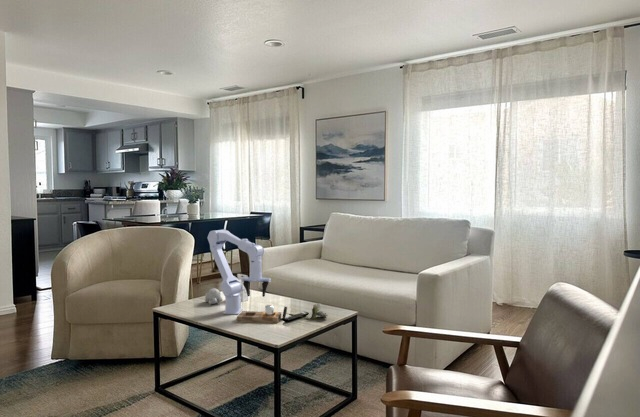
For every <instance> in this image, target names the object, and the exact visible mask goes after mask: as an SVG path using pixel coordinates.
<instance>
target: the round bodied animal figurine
mask: <svg viewBox="0 0 640 417" xmlns="http://www.w3.org/2000/svg"><path fill="white" fill-rule="evenodd" d="M204 294H205V296H204V297H205V299H204V302H206V303H209V305H210V306H212V305H214V304H218V303H221V302H222V301H223V298H222V296H221V290H219V289H218V288H215V287H214V288H210V289H209V290H208V291H207V293H206V292H205V293H204Z"/></svg>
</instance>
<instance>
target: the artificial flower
mask: <svg viewBox="0 0 640 417" xmlns="http://www.w3.org/2000/svg"><path fill="white" fill-rule="evenodd" d="M321 304H322V303H315V304H313V306H311V317H310V318H308V317H304V316H301V315H298V314H294V313H293V314H292V313H288V311H287V310H288V306H284V307H283V312H282V315H281V318H282V320H283V319H285V320H286V317H287V315H288V316H291V317H294V316H295V317H300V318H302V319H305V320H310V321H311V320H314V319H316V317H322V318H327V317H329V315H328V314H327V313H326V312H323V311H321V309H322V305H321Z"/></svg>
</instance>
